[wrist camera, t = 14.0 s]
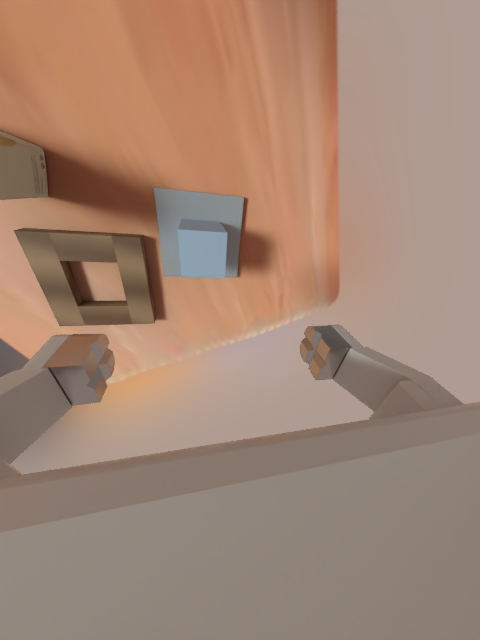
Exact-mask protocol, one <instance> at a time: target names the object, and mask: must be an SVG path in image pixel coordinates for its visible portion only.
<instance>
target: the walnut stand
mask: <svg viewBox="0 0 480 640" xmlns="http://www.w3.org/2000/svg"><path fill="white" fill-rule="evenodd" d="M14 232H15V234H16V236H17V238H18V240H19V242H20V244H21V247H22V249H23V251H24V253H25V255H26V257H27V259H28V261H29V263H30V265H31V267H32V269H33V272H34V274H35V276H36V278H37V280H38V282H39V284H40V286H41V288H42V290H43V292H44V294H45V296H46V299H47V301H48V303H49V305H50V307H51V309H52V311H53V313H54V315H55V317H56V319H57V321H58V323H59V326H83V325H118V324H152V323H155V320H156V315H155V309H154V303H153V296H152V290H151V284H150V278H149V271H148V265H147V259H146V253H145V246H144V240H143V235H135V234H118V233H101V232H83V231H66V230H48V229H31V228H22V229H18V230H14ZM68 261H86V262H117V263H118V267H119V271H120V275H121V279H122V283H123V287H124V292H125V296H126V300H127V301H83V300H82V298H81V295H80V292H79V290H78V287H77V284H76V282H75V279H74V276H73V274H72V271H71V268H70V266H69V263H68Z"/></svg>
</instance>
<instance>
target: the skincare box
mask: <svg viewBox="0 0 480 640" xmlns="http://www.w3.org/2000/svg"><path fill="white" fill-rule="evenodd" d="M37 197H48V186H47V173H46V163H45V156H44V150H43V149H42V148H41V147H39V146H37V145H34V144H32V143H30V142H27V141H25V140H22V139H20V138H18V137H15V136H13V135H10V134H8V133H5V132H3V131H0V200H5V199H20V198H37Z"/></svg>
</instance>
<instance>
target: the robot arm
mask: <svg viewBox="0 0 480 640" xmlns="http://www.w3.org/2000/svg"><path fill="white" fill-rule="evenodd" d="M304 334H305V337H306V338H305V339H303V340H302V341H301V345H300V354H301V357H302V359H303V360H304V361H305V362H306V363H308V364H309V370H310V372H311V373H312V375H313V377H314V378H315V380H326V379H333V380H334V381H335V382H337V383H338V384H339V385H340V386H342V387H343V388H344V389H346V390H347V391H348V392H350V393H351V394H352V395H353V396H355V397H356V398H357V399H359V400H360V401H361V402H362V403H364V404H365V405H366V406H368V407H369V408H370V409H372V410H373V411H374V413H373V414H372V415H371V417H370V418H369V420H364V421H358V422H351V423H344V424H338V425H332V426H326V427H319V428H313V429H307V430H300V431H294V432H288V433H282V434H276V435H269V436H263V437H256V438H250V439H244V440H237V441H231V442H225V443H219V444H213V445H206V446H200V447H194V448H187V449H181V450H175V451H169V452H162V453H156V454H150V455H144V456H137V457H131V458H125V459H119V460H112V461H106V462H99V463H93V464H87V465H81V466H75V467H68V468H62V469H55V470H49V471H43V472H37V473H30V474H24V475H22V474H21V473H20V472H19V471H18V470H16V469H15V468H14V467H12V466H11V465H10V463H12V462H13V461H14V460H15V459H16V458H17V457H18V456H19V455H20V454H21V453H22V452H24V450H25V449H27V448H28V447H29V446H30V445H31V444H32V443H33V442H34V441H35V440H37V439H38V438H39V437H40V436H41V435H42V434H43V433H44V432H45V431H47V430H48V428H50V427H51V426H52V425H53V424H54V423H55V422H56V421H57V420H58V419H60V417H62V416H63V415H64V414H65V413H66V412H67V411H68V410H69V409H70V408H72V406H73V405H82V404H89V403H97V402H101V400H102V397H103V395H104V393H105V390H106V388H107V384H106V382H105V381H106V380H107V379H108V378H110V377H111V376H112V373H113V371H114V364H115V360H114V355H113V352H112V351H111V350H110V349H108V348H107V346H108V344H109V340H108V338H107V336H106V335H105V334H73V335H55V336H52V337H51V338H50V339H49V340H48V341H47V342H46V343H45V344H44V345H43V346H42V347H41V349H40V350H39V351H38V352H37V353H36V354H35V355H34V356H33V357H32V358H31V359H30V361H29V362H28V363H27V364H26V365H25V366H24V367H23V368H22V370H14V371H13V372H11V373H9V374H7V375H5V376H3V377H1V378H0V640H480V402H476V403H470V404H463V403H462V402H460V401H459V400H458V399H457V398H456V397H454V396H453V395H452V394H451V393H449V392H448V391H447V390H446V389H445V388H444V387H442V386H441V385H440V384H439V383H437V382H436V381H435V380H434V379H433V378H431V377H430V376H428V375H426V374H423V373H421V372H419V371H417V370H415V369H413V368H411V367H408V366H406V365H404V364H402V363H400V362H398V361H396V360H394V359H392V358H389V357H387V356H385V355H383V354H381V353H379V352H376V351H374V350H372V349H370V348H368V347H363V346H362V345H361V344H360V343H359V342H358V341H357V340H356V339H355V338H354V337H353V336H352V335H351V334H350V333H349V332H347V330H345V328H343V327H342V326H341V325H328V326H309V327H307V328H306V330H305V333H304Z"/></svg>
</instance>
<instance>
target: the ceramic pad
mask: <svg viewBox="0 0 480 640" xmlns="http://www.w3.org/2000/svg"><path fill="white" fill-rule="evenodd" d="M154 195H155V203H156V212H157V220H158V229H159V237H160V246H161V254H162V263H163V271H164V276H177V277H181V268H180V254H179V239H178V227H179V225H180V222H181V219H191V220H204V221H217V222H220V223H221V224H222V226H223V227H224V229H225V230H226V231H227V251H226V269H225V277H233V278H237V271H238V259H239V248H240V237H241V225H242V214H243V203H244V197H239V196H230V195H220V194H210V193H201V192H191V191H182V190H172V189H163V188H154Z"/></svg>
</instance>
